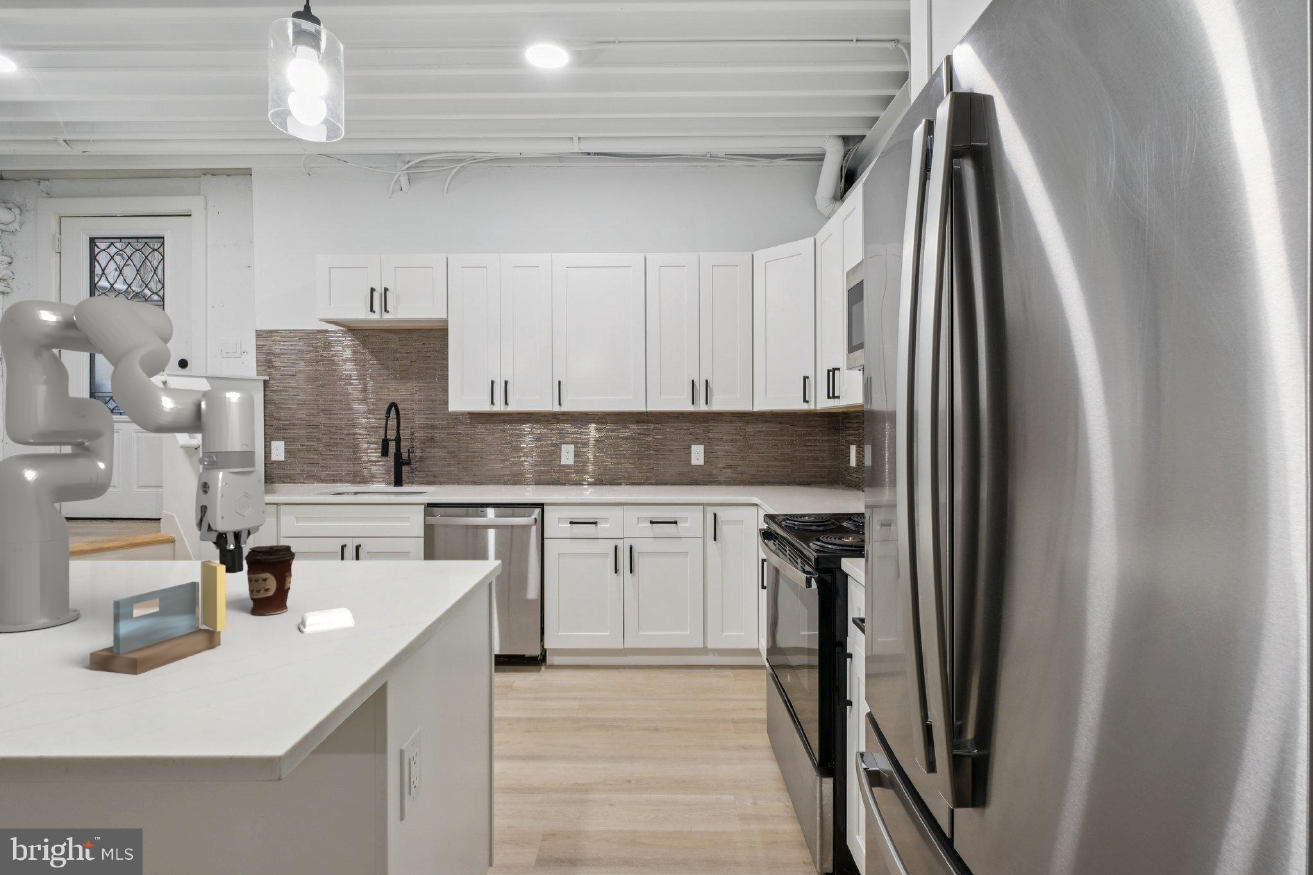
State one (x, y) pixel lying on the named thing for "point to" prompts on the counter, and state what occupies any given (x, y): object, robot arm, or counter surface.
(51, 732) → the counter surface
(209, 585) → the yellow flat slab
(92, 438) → the robot arm
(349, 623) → the soap
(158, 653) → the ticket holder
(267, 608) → the coffee cup
